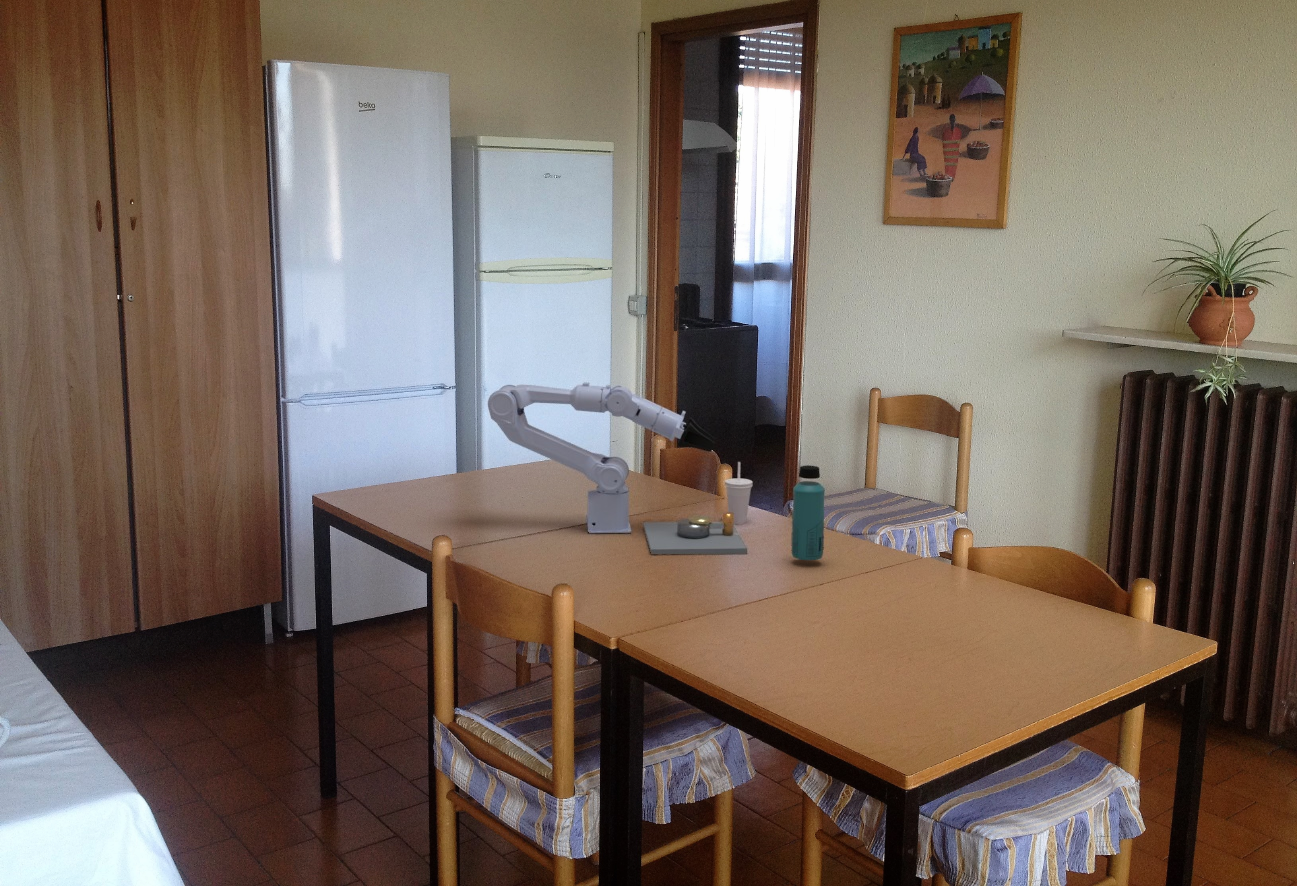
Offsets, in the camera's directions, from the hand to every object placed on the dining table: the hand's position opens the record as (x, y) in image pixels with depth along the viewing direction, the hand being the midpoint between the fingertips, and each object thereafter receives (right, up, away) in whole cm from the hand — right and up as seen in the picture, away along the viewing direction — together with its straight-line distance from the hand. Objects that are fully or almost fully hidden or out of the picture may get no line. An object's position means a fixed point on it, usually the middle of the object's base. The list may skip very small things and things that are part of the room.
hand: (713, 445), depth 253 cm
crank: (-2, -19, -3) cm, 19 cm away
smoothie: (+6, -18, +13) cm, 23 cm away
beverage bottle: (+18, -24, -19) cm, 35 cm away
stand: (-5, -21, -3) cm, 21 cm away
